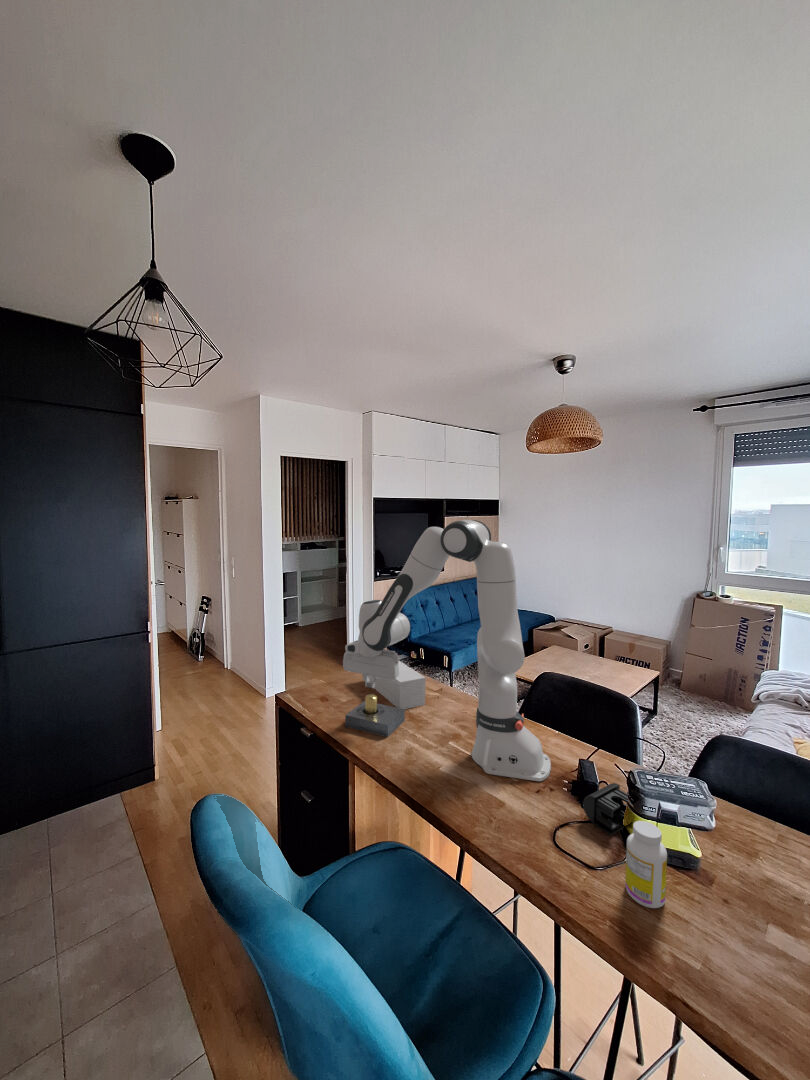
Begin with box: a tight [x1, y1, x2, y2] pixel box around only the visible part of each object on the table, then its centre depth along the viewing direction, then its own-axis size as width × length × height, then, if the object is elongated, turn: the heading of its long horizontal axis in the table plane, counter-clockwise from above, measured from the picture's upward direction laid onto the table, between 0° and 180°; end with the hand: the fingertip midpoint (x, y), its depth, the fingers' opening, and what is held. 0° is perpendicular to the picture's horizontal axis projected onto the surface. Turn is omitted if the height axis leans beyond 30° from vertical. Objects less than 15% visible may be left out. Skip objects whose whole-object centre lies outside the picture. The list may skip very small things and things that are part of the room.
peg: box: [364, 693, 378, 715], centre depth 149 cm, size 4×4×8 cm
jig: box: [344, 700, 406, 738], centre depth 149 cm, size 16×13×4 cm
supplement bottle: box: [625, 820, 668, 909], centre depth 82 cm, size 7×7×13 cm
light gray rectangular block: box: [368, 660, 427, 710], centre depth 176 cm, size 32×11×11 cm, turn 28°
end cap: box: [582, 782, 629, 836], centre depth 103 cm, size 10×7×7 cm
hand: (370, 687), depth 149 cm, fingers closed
